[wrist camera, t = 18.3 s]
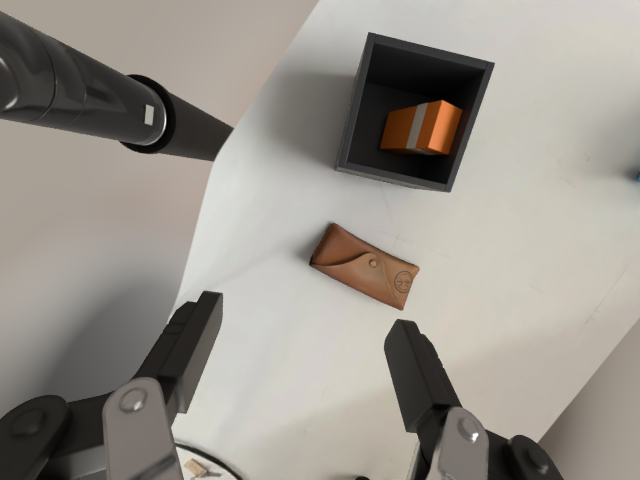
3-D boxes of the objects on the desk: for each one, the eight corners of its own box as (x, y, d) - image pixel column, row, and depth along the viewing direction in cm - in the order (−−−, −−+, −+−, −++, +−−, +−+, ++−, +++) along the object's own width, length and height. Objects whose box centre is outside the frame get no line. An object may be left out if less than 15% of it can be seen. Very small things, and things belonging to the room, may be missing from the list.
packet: (379, 149, 35) (427, 147, 28) (388, 111, 34) (442, 99, 26) (398, 154, 37) (448, 155, 29) (407, 119, 36) (463, 109, 28)
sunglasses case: (423, 266, 42) (426, 298, 37) (399, 286, 47) (398, 316, 42) (330, 219, 40) (320, 246, 35) (315, 245, 45) (304, 272, 40)
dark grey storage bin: (334, 170, 39) (338, 167, 28) (355, 75, 35) (368, 31, 25) (416, 188, 39) (450, 192, 28) (445, 97, 36) (495, 62, 25)
